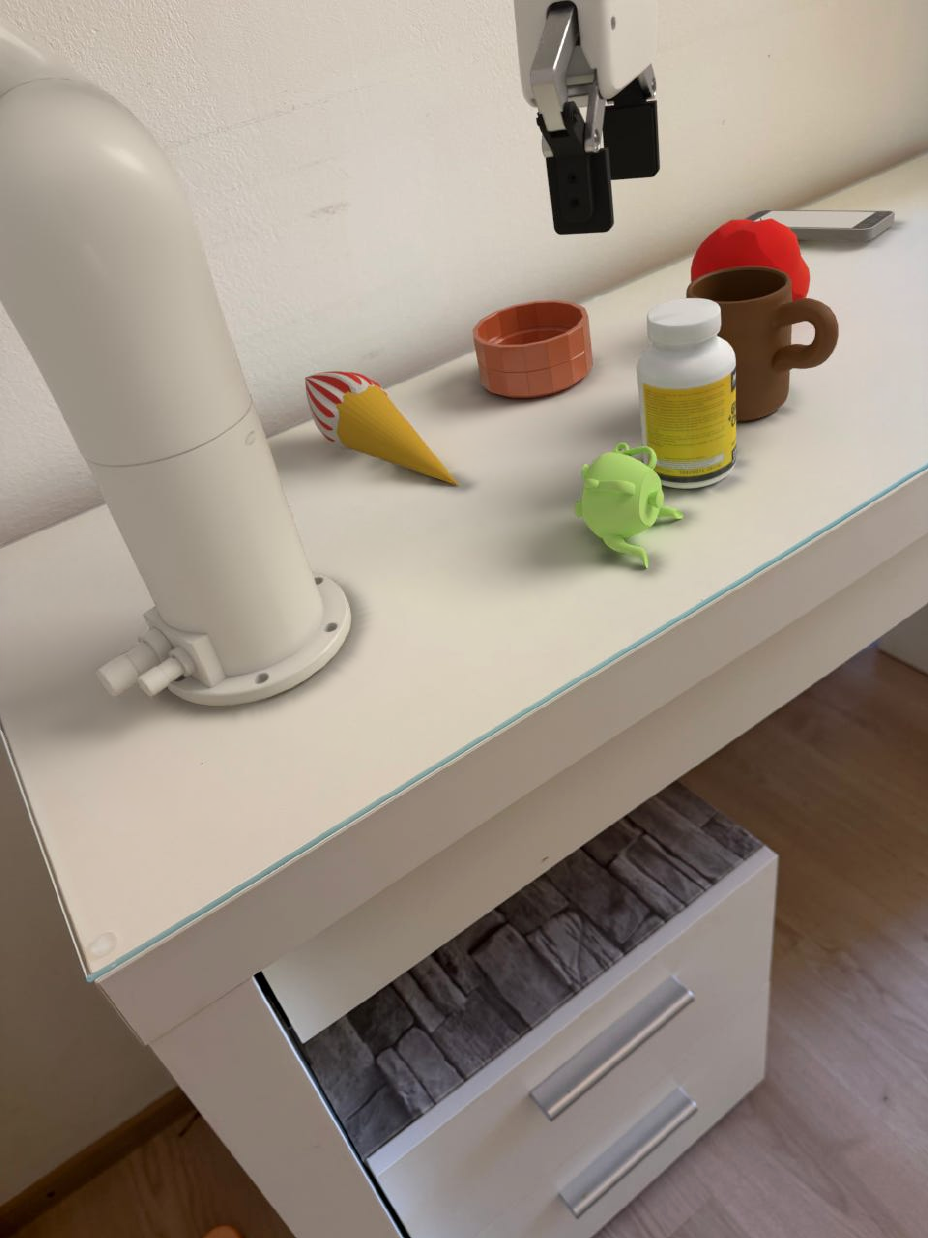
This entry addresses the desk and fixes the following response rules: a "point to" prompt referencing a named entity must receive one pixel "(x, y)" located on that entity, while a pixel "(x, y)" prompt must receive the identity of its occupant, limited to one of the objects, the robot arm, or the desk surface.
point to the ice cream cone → (368, 422)
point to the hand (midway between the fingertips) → (610, 202)
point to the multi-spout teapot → (622, 498)
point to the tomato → (754, 251)
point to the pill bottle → (688, 394)
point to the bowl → (533, 348)
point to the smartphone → (831, 223)
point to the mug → (765, 332)
